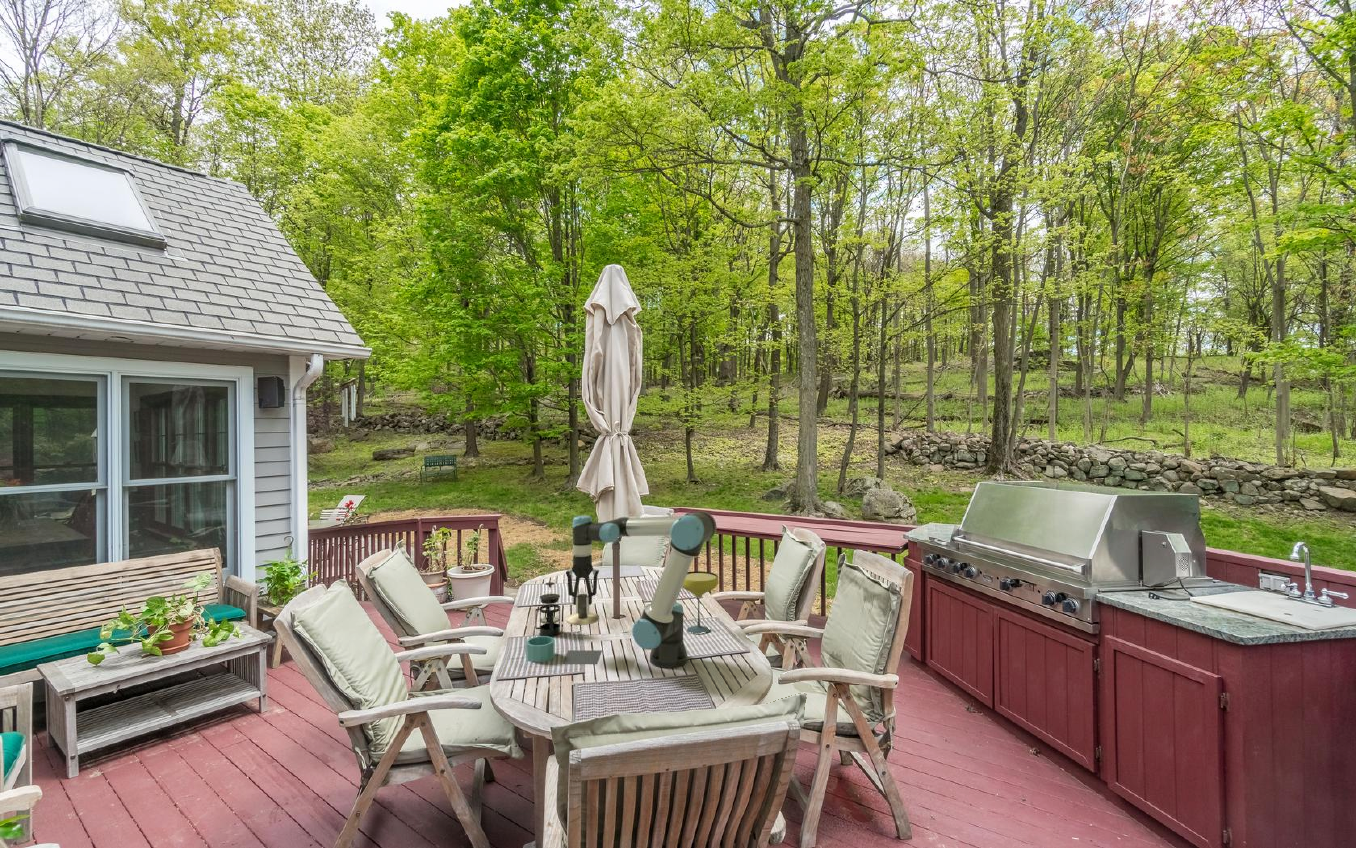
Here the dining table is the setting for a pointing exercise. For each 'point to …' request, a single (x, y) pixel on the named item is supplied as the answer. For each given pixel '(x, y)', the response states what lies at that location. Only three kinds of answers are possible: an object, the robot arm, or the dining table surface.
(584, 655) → the mat
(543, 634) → the french press
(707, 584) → the cocktail glass
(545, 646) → the bowl
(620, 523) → the robot arm
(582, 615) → the lid
